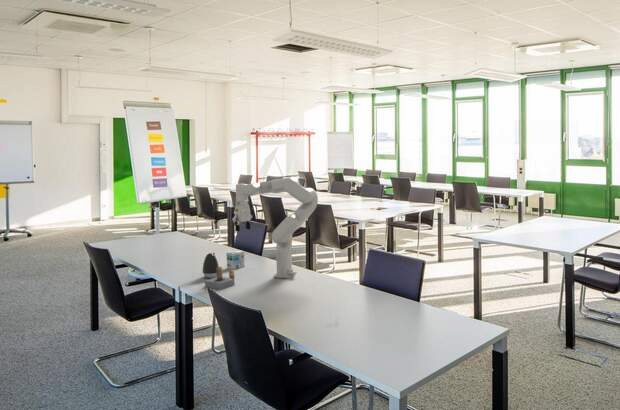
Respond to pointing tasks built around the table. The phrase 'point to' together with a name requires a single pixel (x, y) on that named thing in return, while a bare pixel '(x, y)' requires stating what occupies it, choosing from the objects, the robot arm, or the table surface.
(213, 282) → the block
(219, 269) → the long pin
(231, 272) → the short pin
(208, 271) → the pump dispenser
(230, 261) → the light bulb box
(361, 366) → the table surface
